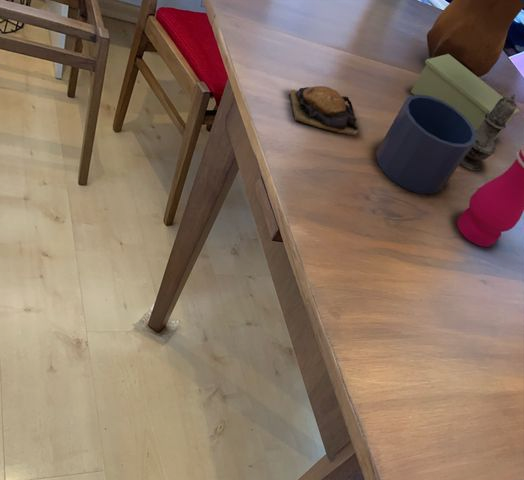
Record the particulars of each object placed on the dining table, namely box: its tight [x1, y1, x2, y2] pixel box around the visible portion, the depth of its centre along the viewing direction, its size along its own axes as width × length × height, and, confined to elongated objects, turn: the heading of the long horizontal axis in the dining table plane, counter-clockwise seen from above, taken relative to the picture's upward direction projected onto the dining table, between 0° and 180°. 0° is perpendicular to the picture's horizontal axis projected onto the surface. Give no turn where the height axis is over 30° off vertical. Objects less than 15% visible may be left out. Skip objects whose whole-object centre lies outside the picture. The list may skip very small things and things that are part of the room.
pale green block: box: [410, 54, 521, 141], centre depth 98 cm, size 17×8×6 cm, turn 44°
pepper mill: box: [456, 144, 524, 248], centre depth 74 cm, size 7×7×20 cm
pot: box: [375, 94, 477, 195], centre depth 82 cm, size 11×11×8 cm
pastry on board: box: [289, 85, 359, 136], centre depth 85 cm, size 11×8×4 cm
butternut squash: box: [426, 0, 524, 78], centre depth 100 cm, size 14×13×25 cm
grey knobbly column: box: [459, 93, 517, 171], centre depth 88 cm, size 6×6×12 cm
